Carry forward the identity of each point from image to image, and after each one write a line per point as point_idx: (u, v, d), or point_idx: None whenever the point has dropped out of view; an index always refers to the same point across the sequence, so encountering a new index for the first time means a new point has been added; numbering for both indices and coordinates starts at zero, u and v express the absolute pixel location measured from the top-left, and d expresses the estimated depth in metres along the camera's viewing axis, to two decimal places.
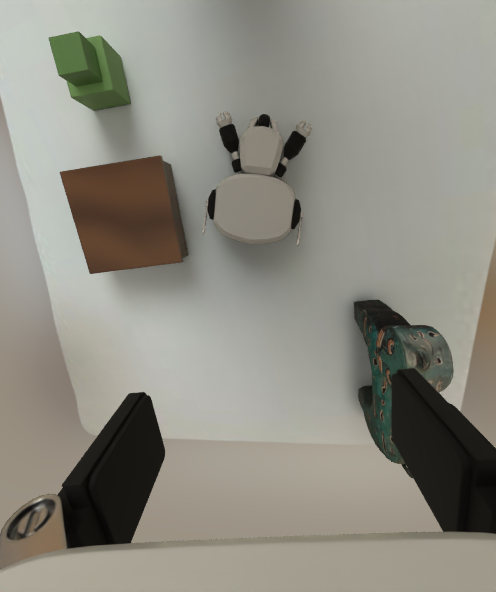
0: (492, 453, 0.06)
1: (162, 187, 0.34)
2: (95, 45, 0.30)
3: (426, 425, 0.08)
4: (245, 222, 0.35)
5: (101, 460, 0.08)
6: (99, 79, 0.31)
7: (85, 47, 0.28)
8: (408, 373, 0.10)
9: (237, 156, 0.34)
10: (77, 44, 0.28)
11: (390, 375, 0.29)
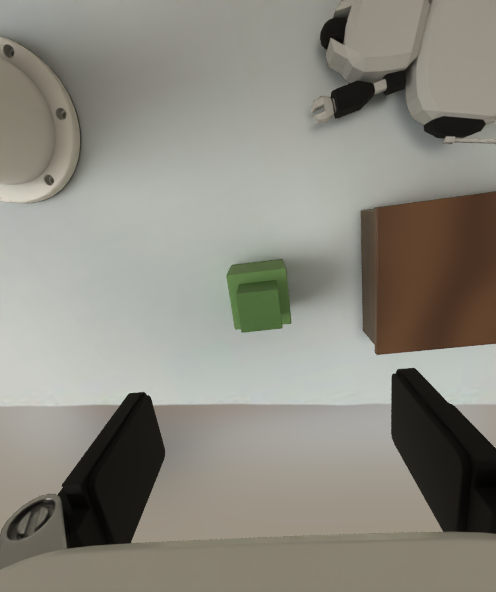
0: (492, 453, 0.06)
1: (423, 208, 0.21)
2: (237, 283, 0.24)
3: (426, 425, 0.08)
4: None
5: (101, 460, 0.08)
6: (276, 282, 0.23)
7: (250, 290, 0.22)
8: (408, 373, 0.10)
9: (381, 81, 0.21)
10: (249, 298, 0.21)
11: None
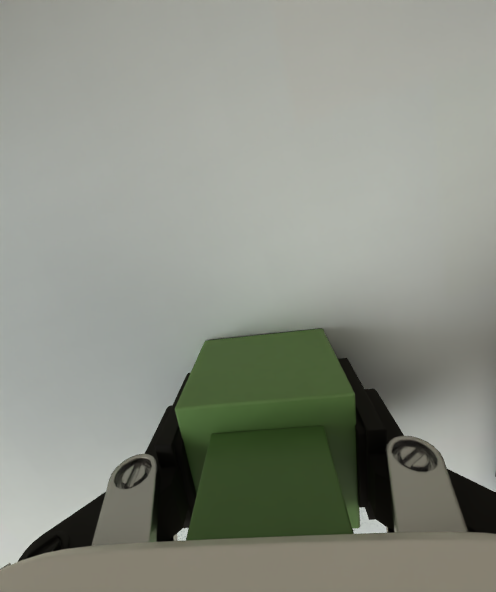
0: (380, 425, 0.08)
1: None
2: (206, 430, 0.08)
3: None
4: None
5: None
6: (327, 443, 0.07)
7: (244, 513, 0.06)
8: (339, 362, 0.11)
9: None
10: None
11: None
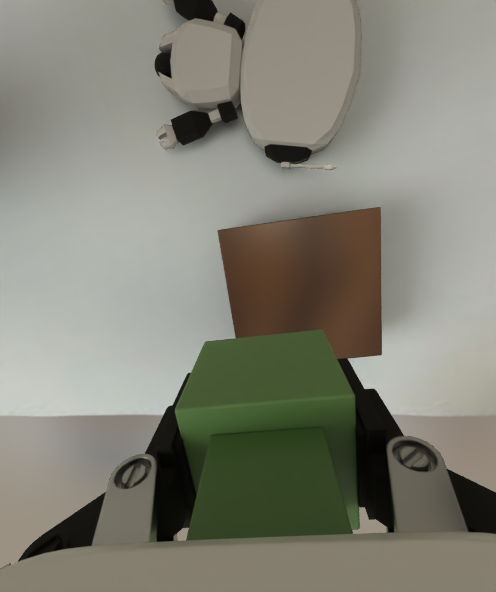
0: (380, 425, 0.08)
1: (261, 231, 0.22)
2: (206, 431, 0.08)
3: None
4: (321, 82, 0.19)
5: None
6: (327, 445, 0.07)
7: (244, 516, 0.06)
8: (339, 362, 0.11)
9: (215, 111, 0.22)
10: None
11: None
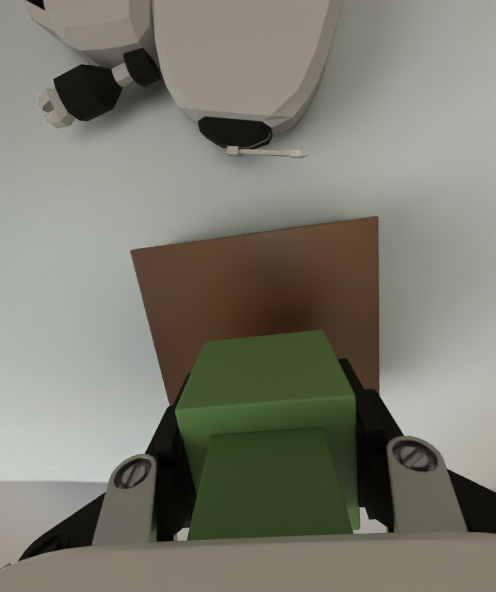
0: (381, 425, 0.08)
1: (196, 252, 0.15)
2: (206, 432, 0.08)
3: None
4: (280, 10, 0.12)
5: None
6: (327, 445, 0.07)
7: (244, 516, 0.06)
8: (339, 362, 0.11)
9: (121, 66, 0.14)
10: None
11: None
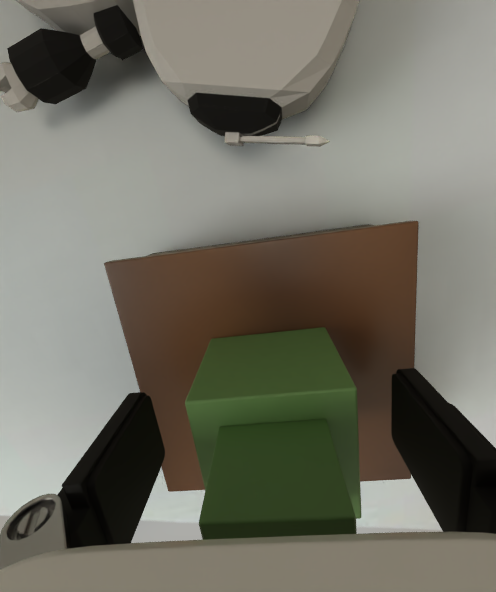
0: (491, 453, 0.06)
1: (186, 265, 0.12)
2: (214, 423, 0.09)
3: (426, 425, 0.08)
4: None
5: (101, 460, 0.08)
6: (330, 435, 0.08)
7: (252, 499, 0.06)
8: (408, 373, 0.10)
9: (92, 31, 0.11)
10: (249, 537, 0.06)
11: None
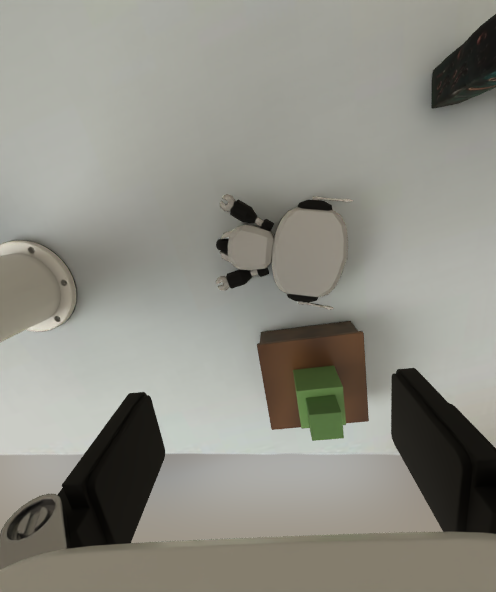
0: (491, 453, 0.06)
1: (285, 345, 0.34)
2: (304, 396, 0.31)
3: (426, 425, 0.08)
4: (323, 263, 0.31)
5: (101, 460, 0.08)
6: (336, 398, 0.30)
7: (319, 410, 0.29)
8: (408, 373, 0.10)
9: (254, 271, 0.34)
10: (319, 418, 0.29)
11: None
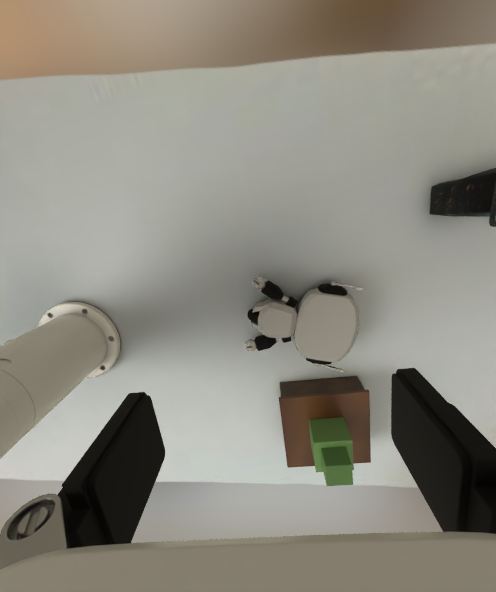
0: (491, 453, 0.06)
1: (303, 400, 0.41)
2: (320, 447, 0.38)
3: (426, 425, 0.08)
4: (338, 337, 0.38)
5: (101, 460, 0.08)
6: (346, 450, 0.37)
7: (333, 462, 0.35)
8: (408, 373, 0.10)
9: (279, 337, 0.40)
10: (333, 468, 0.35)
11: None
